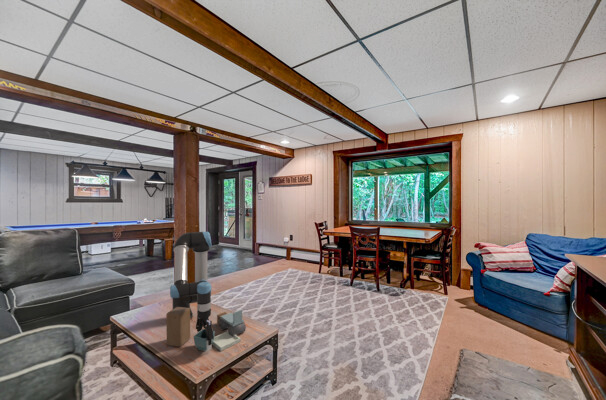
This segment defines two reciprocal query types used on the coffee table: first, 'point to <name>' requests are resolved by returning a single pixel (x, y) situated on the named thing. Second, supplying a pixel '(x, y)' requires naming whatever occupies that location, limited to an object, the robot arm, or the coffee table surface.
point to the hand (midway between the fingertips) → (204, 345)
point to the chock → (220, 317)
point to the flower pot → (201, 340)
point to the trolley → (233, 323)
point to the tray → (225, 341)
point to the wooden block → (178, 326)
